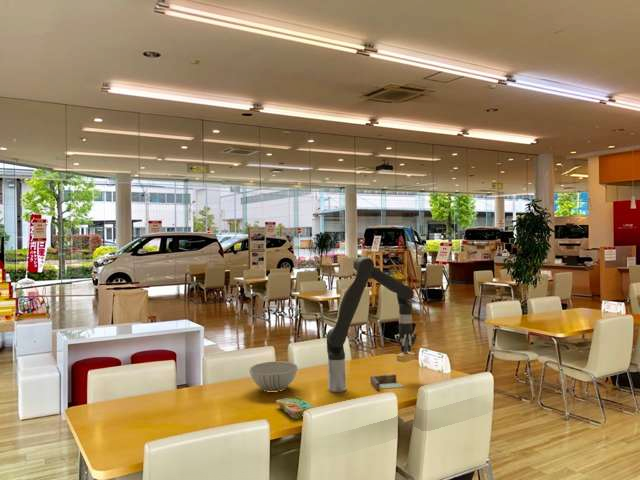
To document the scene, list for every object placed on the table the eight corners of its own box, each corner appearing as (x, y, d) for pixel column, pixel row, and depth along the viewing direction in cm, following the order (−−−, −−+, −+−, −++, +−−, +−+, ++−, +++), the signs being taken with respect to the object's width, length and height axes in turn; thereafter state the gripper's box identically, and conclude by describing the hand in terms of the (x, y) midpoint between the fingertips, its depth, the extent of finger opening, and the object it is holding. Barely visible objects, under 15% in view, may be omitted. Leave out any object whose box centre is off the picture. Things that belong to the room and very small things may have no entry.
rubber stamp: (407, 357, 294) (407, 337, 294) (415, 359, 289) (415, 338, 289) (396, 360, 287) (395, 339, 287) (404, 362, 283) (403, 341, 283)
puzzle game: (291, 410, 233) (276, 398, 251) (292, 420, 233) (276, 407, 251) (314, 406, 238) (297, 394, 256) (315, 416, 238) (298, 403, 256)
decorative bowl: (267, 400, 261) (266, 377, 260) (240, 389, 281) (240, 367, 281) (308, 389, 278) (307, 367, 277) (280, 379, 298) (279, 358, 298)
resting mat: (382, 388, 275) (382, 388, 275) (378, 384, 283) (378, 383, 283) (403, 387, 277) (403, 386, 277) (399, 382, 284) (399, 382, 284)
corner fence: (376, 390, 272) (376, 383, 272) (370, 383, 286) (370, 375, 286) (402, 388, 274) (402, 381, 274) (395, 381, 288) (395, 374, 288)
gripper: (397, 323, 282) (398, 354, 282) (419, 322, 287) (420, 352, 287) (391, 321, 289) (391, 351, 289) (413, 319, 294) (413, 349, 294)
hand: (405, 351), depth 288 cm, fingers closed on rubber stamp, 3 cm apart
